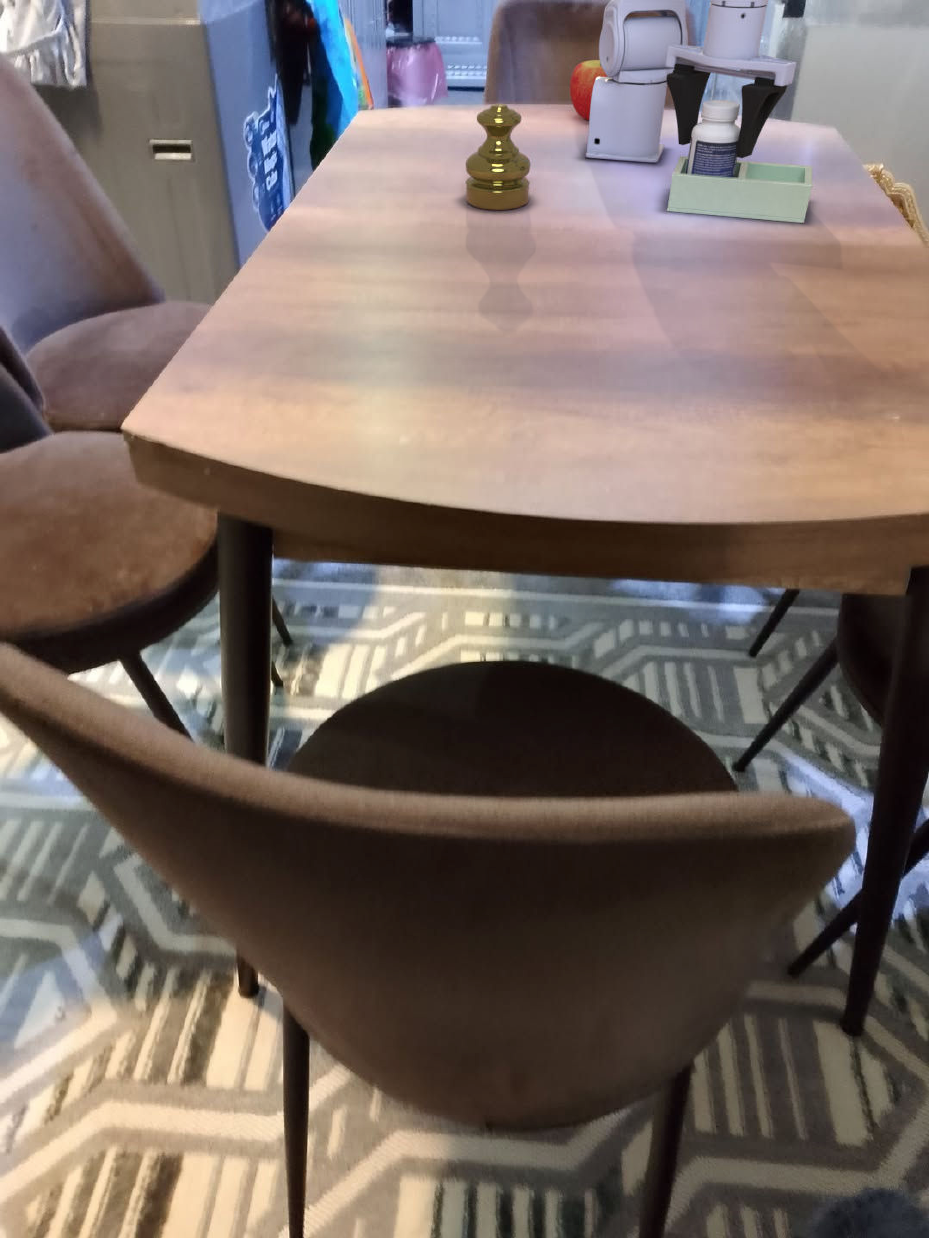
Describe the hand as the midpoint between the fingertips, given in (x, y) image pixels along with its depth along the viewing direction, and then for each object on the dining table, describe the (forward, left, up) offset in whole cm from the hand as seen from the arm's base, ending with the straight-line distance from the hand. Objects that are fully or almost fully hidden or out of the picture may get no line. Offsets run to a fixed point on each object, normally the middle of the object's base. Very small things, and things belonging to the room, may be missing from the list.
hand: (714, 149), depth 102 cm
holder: (+4, 0, -6) cm, 7 cm away
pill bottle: (0, 0, -5) cm, 5 cm away
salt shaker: (-23, -6, -6) cm, 25 cm away
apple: (-19, +37, -6) cm, 42 cm away
